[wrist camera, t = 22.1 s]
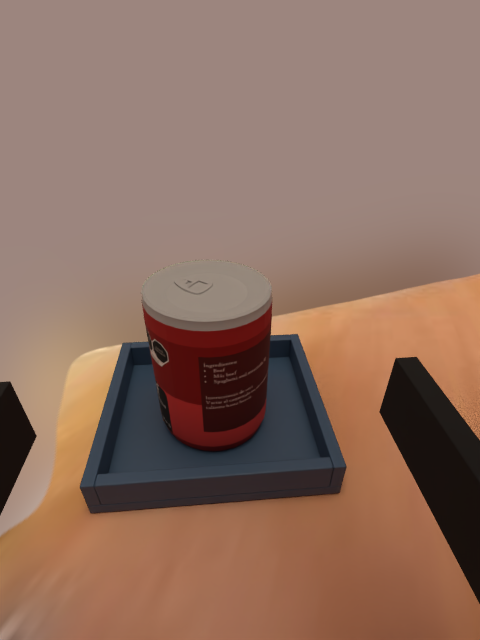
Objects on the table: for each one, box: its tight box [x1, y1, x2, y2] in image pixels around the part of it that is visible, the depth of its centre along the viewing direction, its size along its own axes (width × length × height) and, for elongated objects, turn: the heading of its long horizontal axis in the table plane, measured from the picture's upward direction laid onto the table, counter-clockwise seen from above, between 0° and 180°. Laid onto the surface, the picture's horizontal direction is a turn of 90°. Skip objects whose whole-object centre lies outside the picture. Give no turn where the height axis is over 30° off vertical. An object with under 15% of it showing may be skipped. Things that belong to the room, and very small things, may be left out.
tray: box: [80, 334, 346, 513], centre depth 28 cm, size 16×14×3 cm
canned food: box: [141, 260, 272, 451], centre depth 25 cm, size 8×8×11 cm
